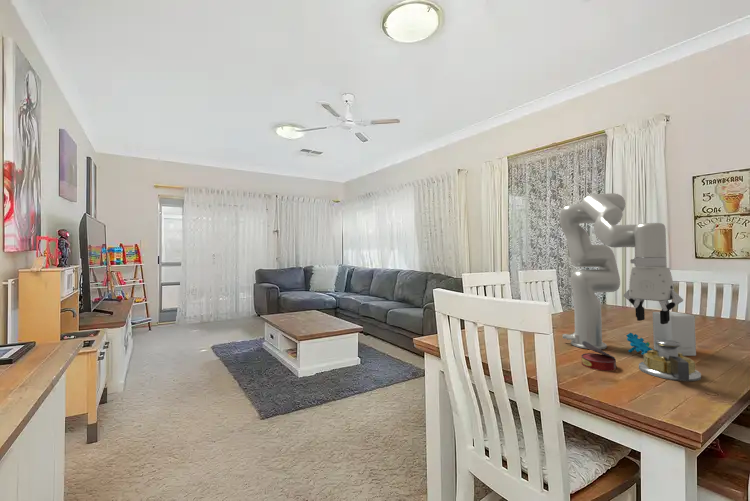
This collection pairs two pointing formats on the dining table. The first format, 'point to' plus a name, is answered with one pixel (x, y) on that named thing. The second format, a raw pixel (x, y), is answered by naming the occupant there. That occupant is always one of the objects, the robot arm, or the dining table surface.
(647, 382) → the dining table surface
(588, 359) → the canned food
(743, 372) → the dining table surface
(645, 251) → the robot arm
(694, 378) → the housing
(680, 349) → the supplement box
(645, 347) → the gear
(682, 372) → the ring nut
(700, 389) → the dining table surface
